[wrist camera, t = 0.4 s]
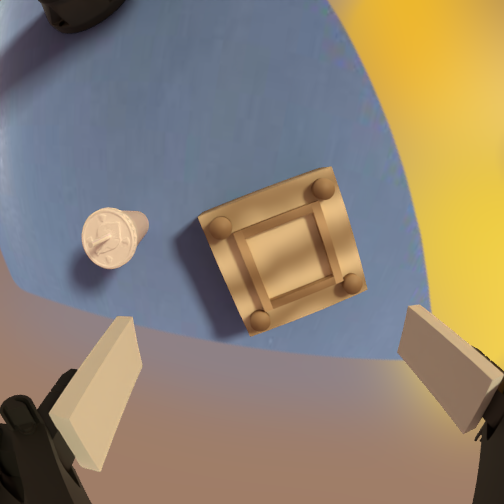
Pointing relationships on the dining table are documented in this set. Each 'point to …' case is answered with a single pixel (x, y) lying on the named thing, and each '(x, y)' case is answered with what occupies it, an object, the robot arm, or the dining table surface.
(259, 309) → the base brick
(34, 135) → the dining table surface
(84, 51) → the dining table surface
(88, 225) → the smoothie
